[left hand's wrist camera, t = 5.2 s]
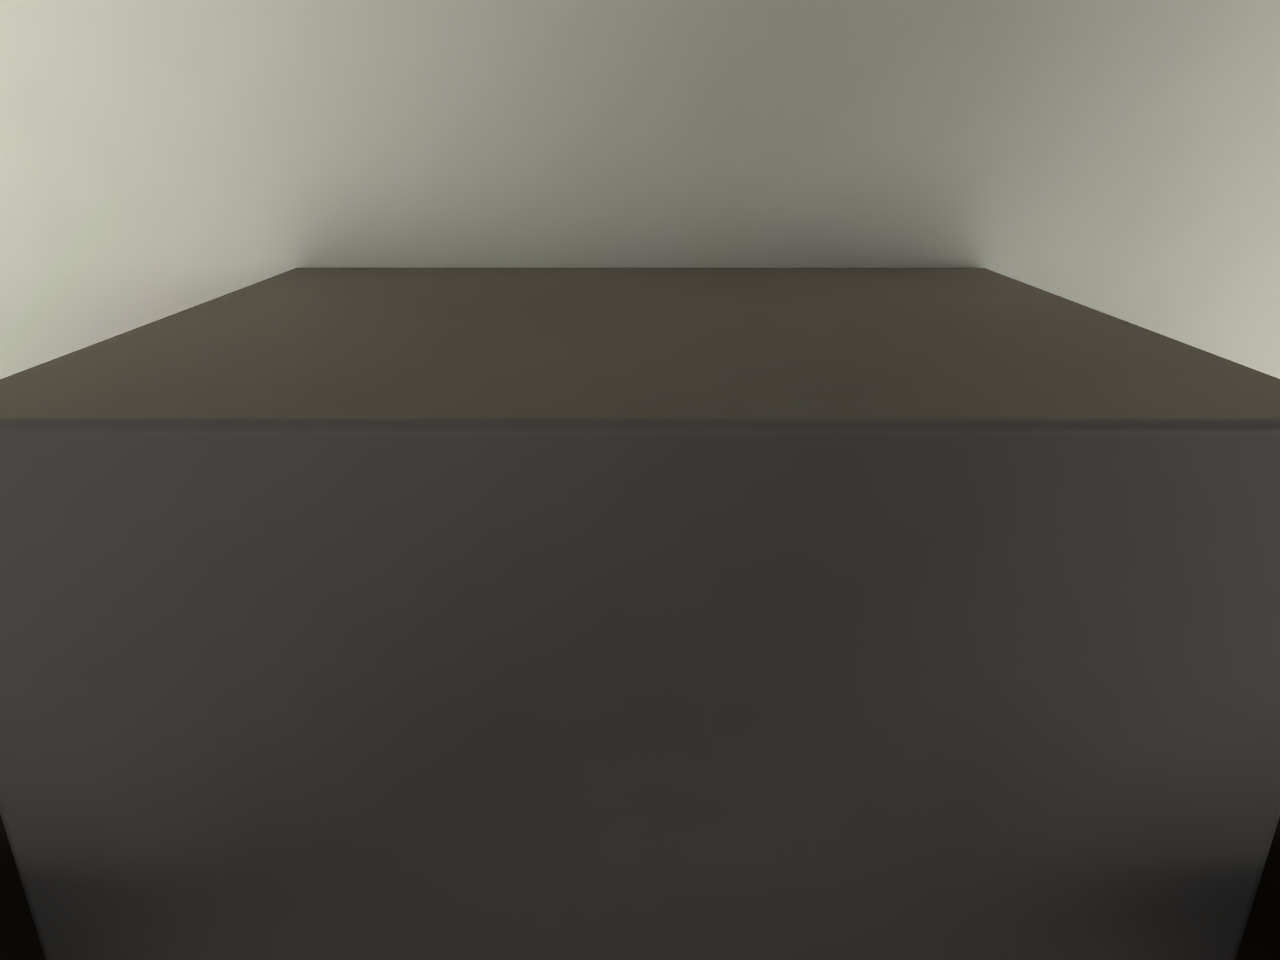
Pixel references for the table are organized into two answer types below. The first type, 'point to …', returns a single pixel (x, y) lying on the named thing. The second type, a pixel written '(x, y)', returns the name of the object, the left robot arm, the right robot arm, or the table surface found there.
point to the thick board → (640, 623)
